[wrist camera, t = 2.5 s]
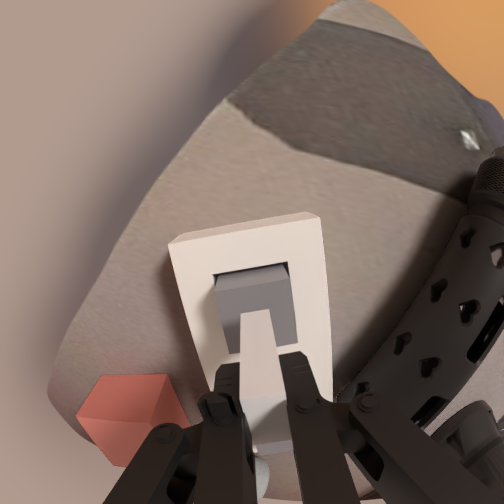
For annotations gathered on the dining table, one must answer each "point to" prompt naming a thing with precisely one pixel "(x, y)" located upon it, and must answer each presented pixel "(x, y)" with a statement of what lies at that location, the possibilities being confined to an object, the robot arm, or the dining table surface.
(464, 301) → the muzzle brake
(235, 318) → the button tagged
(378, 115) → the dining table surface
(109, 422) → the salmon red cube
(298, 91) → the dining table surface
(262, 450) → the button plain
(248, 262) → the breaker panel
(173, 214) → the dining table surface
